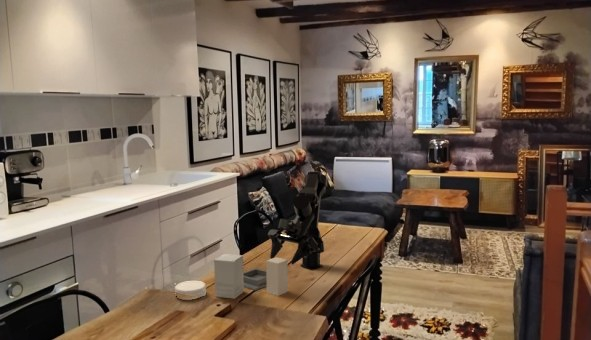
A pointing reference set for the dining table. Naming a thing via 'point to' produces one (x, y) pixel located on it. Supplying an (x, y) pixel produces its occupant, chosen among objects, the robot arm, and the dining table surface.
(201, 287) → the white round disc
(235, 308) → the dining table surface
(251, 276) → the tray
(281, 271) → the cream block
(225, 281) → the supplement box
